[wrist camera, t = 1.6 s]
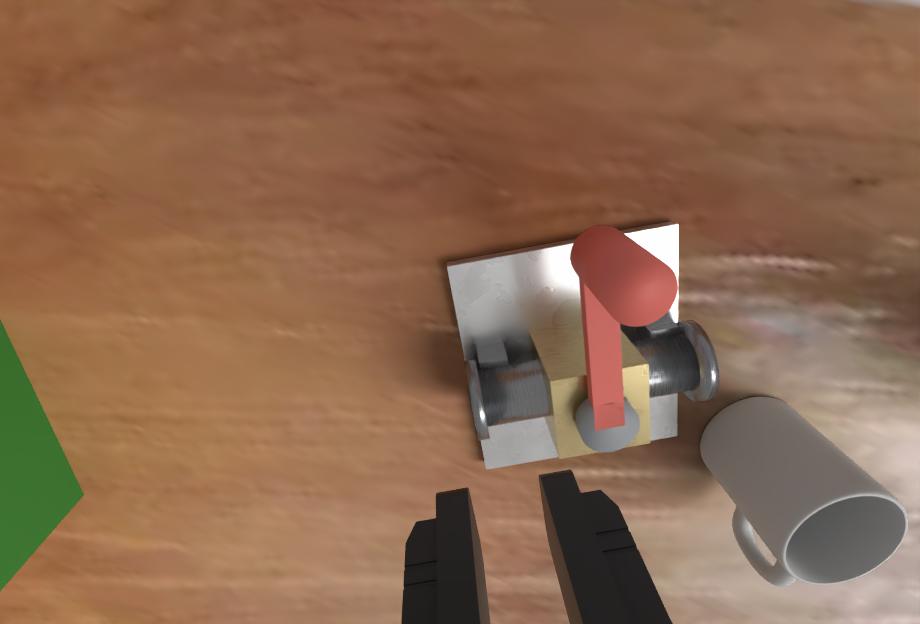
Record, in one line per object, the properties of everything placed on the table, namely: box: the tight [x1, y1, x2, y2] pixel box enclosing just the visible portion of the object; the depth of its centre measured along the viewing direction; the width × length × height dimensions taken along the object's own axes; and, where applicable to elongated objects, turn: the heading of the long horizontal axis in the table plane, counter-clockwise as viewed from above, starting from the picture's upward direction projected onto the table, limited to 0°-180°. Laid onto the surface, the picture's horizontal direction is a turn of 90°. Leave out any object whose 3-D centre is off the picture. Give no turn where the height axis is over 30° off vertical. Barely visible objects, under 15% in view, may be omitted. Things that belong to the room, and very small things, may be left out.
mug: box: [700, 397, 908, 587], centre depth 38 cm, size 12×8×11 cm
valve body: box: [446, 221, 719, 470], centre depth 35 cm, size 16×18×8 cm
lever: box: [570, 225, 678, 452], centre depth 26 cm, size 14×4×7 cm, turn 10°
